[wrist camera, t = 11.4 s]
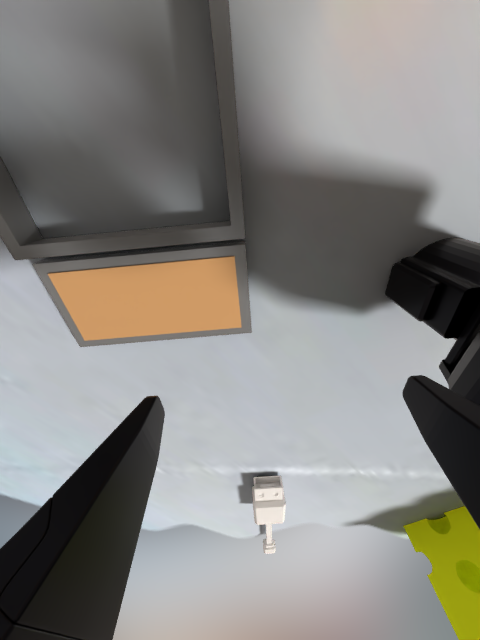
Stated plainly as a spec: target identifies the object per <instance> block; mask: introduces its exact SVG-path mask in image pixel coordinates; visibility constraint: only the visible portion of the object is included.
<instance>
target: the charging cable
mask: <svg viewBox="0 0 480 640" xmlns="http://www.w3.org/2000/svg"><path fill="white" fill-rule="evenodd" d="M252 495H253V509H254V519H255V523H256V524H257V525H263V524H266V535H267V539H264V540H263V548H264V553H265V554H268V553H269V554H270V553H275V540H274V539H272V537H271V536H272V524H280V523H283V522H284V518H285V505H286V503H285V497H284V491H283V484H282V478H281V476H266V477H254V486H252Z"/></svg>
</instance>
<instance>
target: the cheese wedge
mask: <svg viewBox="0 0 480 640" xmlns="http://www.w3.org/2000/svg"><path fill="white" fill-rule="evenodd" d="M444 514H445V515H446V516H445V517H443V518H440V519H437V520H428V519H427V518H426V519H423V520H420V521H417V522H414V523H411V524H408V525H404V528H405V530H406V532H407V534H408V537H409V539H410V541H411V543H412V545H413V547H414V549H415V551H416V552H422V553H424V554H425V555H426V556H427V558H428V559H429V560H430V562H431V564H432V573H431V574H429V575H427V576H428V577H429V579H430V582H431V584H432V585H433V588H434V590H435V592H436V594H437V596H438V598H439V600H440V602H441V604H442V606H443V608H444V610H445V612H446V615H447V617H448V619H449V620H450V623H451V625H452V627H453V629H454V631H455V633H456V635H457V637H458V639H459V640H480V530H479V528H478V526H477V525H476V523H475V521H474V520H473V518H472V517H471V515H470V513H469V512H468V510H467V508H466V507H465V506H463V507H460V508H457V509H454V510H451V511H448V512H445V513H444Z"/></svg>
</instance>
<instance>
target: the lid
mask: <svg viewBox="0 0 480 640" xmlns="http://www.w3.org/2000/svg"><path fill="white" fill-rule="evenodd" d="M32 265H33V267H34V268H35V270H36V272H37V274H38V275H39V277H40V279H41V281H42V282H43V284H44V286H45V287H46V289H47V291H48V293H49V294H50V296H51V298H52V300H53V301H54V303H55V305H56V306H57V308H58V310H59V312H60V313H61V315H62V317H63V319H64V320H65V322H66V324H67V325H68V327H69V329H70V331H71V332H72V334H73V336H74V338H75V339H76V341H77V343H78V344H79V346H80V347H87V346H99V345H111V344H123V343H135V342H146V341H158V340H170V339H182V338H194V337H206V336H218V335H229V334H241V333H252V329H251V315H250V301H249V287H248V273H247V260H246V246H245V241H238V242H228V243H217V244H206V245H196V246H185V247H175V248H164V249H154V250H143V251H132V252H122V253H111V254H101V255H90V256H79V257H69V258H58V259H48V260H41V261H39V262H37V263H34V264H32Z"/></svg>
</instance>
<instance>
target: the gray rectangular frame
mask: <svg viewBox="0 0 480 640" xmlns="http://www.w3.org/2000/svg"><path fill="white" fill-rule="evenodd" d="M208 1H209V11H210V21H211V31H212V41H213V51H214V61H215V71H216V81H217V91H218V101H219V111H220V120H221V130H222V140H223V150H224V160H225V170H226V180H227V190H228V200H229V210H230V220H231V221H222V222H212V223H201V224H191V225H181V226H170V227H160V228H150V229H139V230H129V231H119V232H108V233H98V234H88V235H78V236H67V237H57V238H47V239H43V238H42V236H41V234H40V232H39V230H38V229H37V227H36V225H35V223H34V221H33V219H32V217H31V215H30V213H29V211H28V209H27V207H26V206H25V204H24V202H23V200H22V198H21V196H20V194H19V192H18V190H17V188H16V186H15V184H14V183H13V181H12V179H11V177H10V175H9V173H8V171H7V169H6V167H5V165H4V163H3V162H2V160H1V158H0V237H1V238H2V240H3V242H4V243H5V245H6V246H7V248H8V250H9V251H10V253H11V255H12V256H13V258H14V259H15V260H23V259H34V258H45V257H55V256H66V255H76V254H87V253H97V252H108V251H118V250H129V249H139V248H150V247H161V246H171V245H182V244H192V243H203V242H213V241H224V240H234V239H245V226H244V212H243V198H242V184H241V170H240V156H239V142H238V128H237V114H236V100H235V86H234V72H233V57H232V43H231V29H230V15H229V1H228V0H208Z"/></svg>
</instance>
